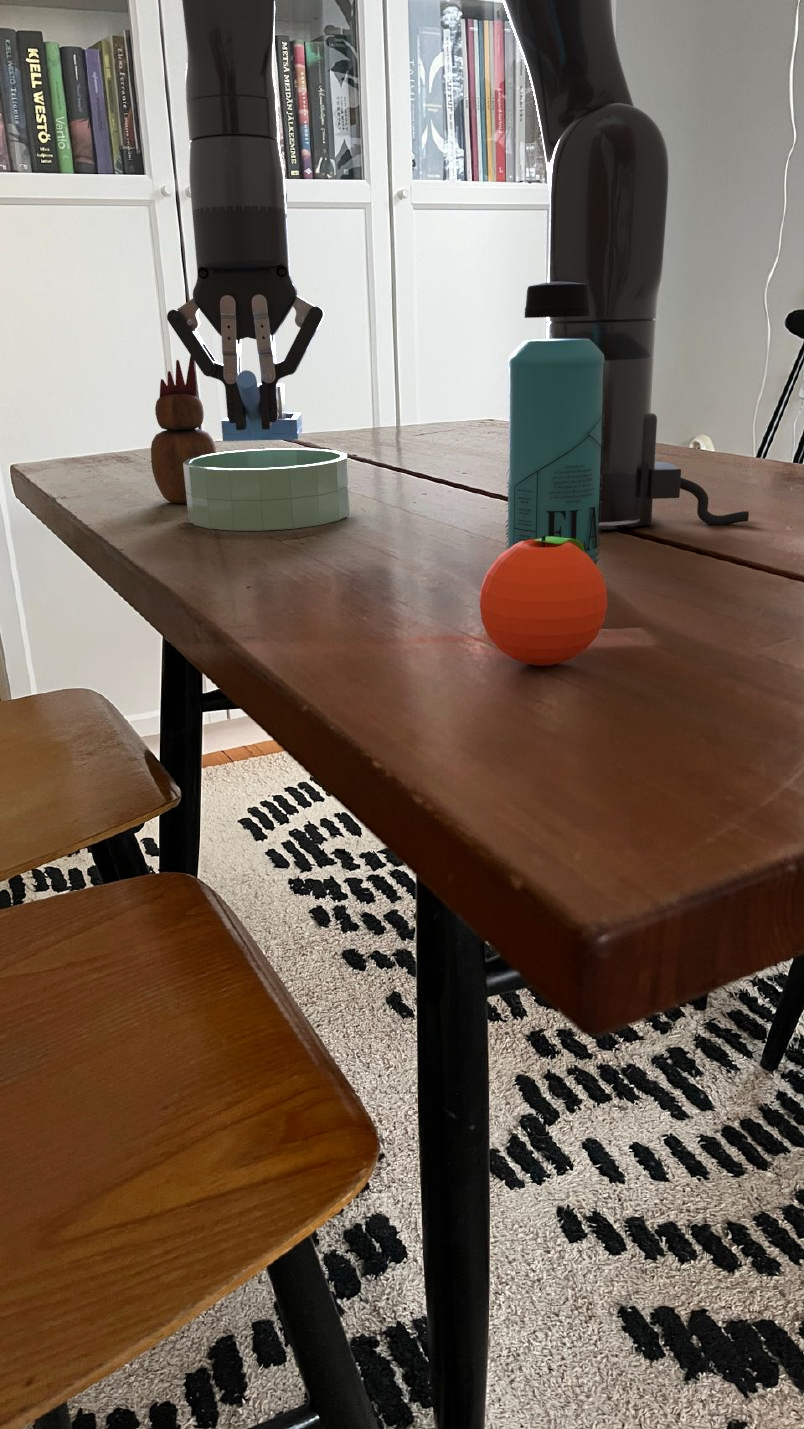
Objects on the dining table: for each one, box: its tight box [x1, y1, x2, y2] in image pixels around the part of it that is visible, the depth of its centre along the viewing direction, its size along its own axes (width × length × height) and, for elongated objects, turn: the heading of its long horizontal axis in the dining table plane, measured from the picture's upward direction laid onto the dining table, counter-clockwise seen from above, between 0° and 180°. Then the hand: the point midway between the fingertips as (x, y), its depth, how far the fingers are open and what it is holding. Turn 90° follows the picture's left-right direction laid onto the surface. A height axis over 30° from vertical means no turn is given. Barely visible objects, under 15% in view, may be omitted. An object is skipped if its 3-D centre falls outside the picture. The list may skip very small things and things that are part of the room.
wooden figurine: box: [150, 354, 217, 505], centre depth 112 cm, size 7×6×15 cm
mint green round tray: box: [183, 447, 350, 532], centre depth 100 cm, size 15×15×6 cm
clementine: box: [478, 535, 609, 667], centre depth 58 cm, size 8×7×7 cm
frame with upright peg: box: [220, 369, 303, 442], centre depth 94 cm, size 16×7×6 cm, turn 2°
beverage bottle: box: [505, 281, 605, 566], centre depth 71 cm, size 6×7×20 cm
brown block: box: [246, 382, 286, 420], centre depth 98 cm, size 4×4×4 cm
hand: (254, 428), depth 91 cm, fingers closed on frame with upright peg
